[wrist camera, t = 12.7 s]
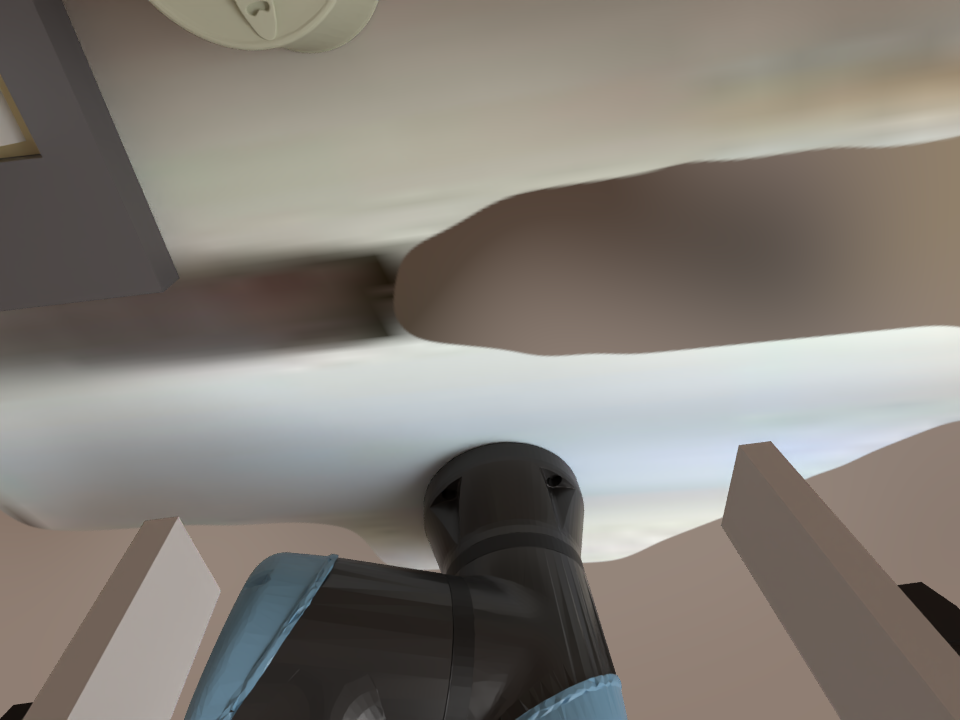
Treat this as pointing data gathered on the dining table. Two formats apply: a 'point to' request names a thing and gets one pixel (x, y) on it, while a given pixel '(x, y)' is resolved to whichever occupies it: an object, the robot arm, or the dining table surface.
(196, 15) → the can
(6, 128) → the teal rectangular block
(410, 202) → the dining table surface
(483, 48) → the dining table surface
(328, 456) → the dining table surface
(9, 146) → the socket
